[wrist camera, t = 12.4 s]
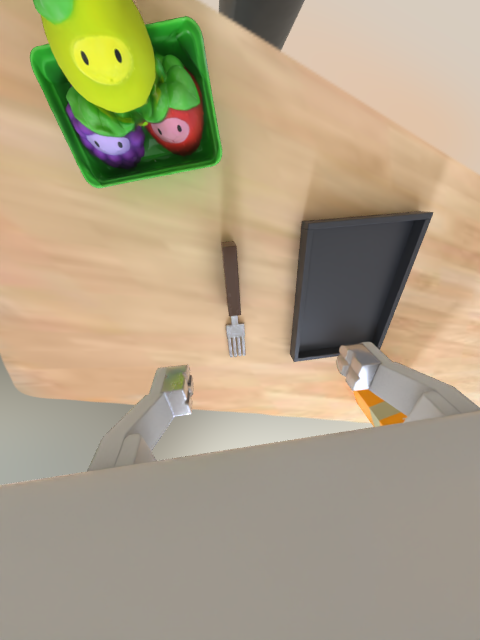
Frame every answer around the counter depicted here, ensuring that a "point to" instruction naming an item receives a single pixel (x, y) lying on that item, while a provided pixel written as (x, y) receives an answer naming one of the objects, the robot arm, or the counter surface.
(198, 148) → the fruit basket
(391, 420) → the orange juice
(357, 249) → the tray
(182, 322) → the counter surface
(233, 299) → the fork
